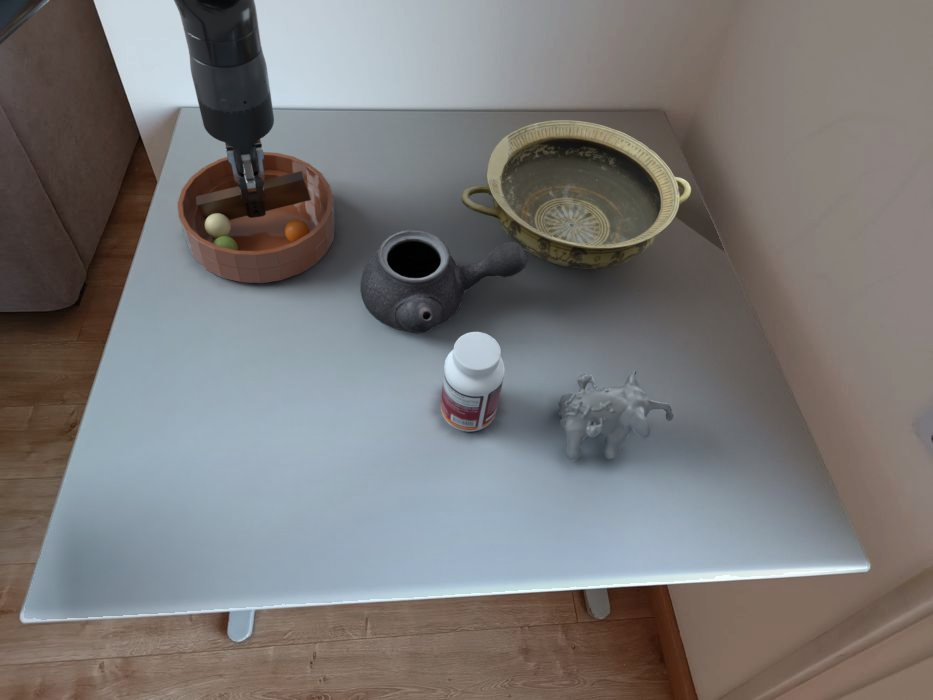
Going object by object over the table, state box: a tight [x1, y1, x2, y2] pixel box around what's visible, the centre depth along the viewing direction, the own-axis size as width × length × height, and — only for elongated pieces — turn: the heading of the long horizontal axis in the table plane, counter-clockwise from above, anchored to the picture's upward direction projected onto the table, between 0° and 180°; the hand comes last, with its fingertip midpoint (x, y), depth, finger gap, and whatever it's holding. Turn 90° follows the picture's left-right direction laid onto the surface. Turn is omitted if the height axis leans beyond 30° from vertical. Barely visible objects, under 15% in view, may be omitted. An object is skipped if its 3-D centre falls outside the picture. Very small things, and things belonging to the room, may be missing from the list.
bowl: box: [177, 151, 336, 284], centre depth 89 cm, size 18×18×6 cm
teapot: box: [360, 229, 528, 334], centre depth 83 cm, size 19×15×10 cm
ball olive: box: [213, 236, 238, 250], centre depth 86 cm, size 3×3×3 cm
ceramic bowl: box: [461, 119, 692, 270], centre depth 92 cm, size 30×24×10 cm
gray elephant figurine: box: [557, 369, 674, 461], centre depth 75 cm, size 9×12×8 cm
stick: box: [196, 171, 311, 221], centre depth 87 cm, size 13×2×4 cm, turn 105°
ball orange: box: [285, 219, 310, 243], centre depth 89 cm, size 3×3×3 cm
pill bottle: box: [440, 331, 506, 433], centre depth 74 cm, size 6×6×11 cm
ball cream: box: [205, 213, 231, 238], centre depth 86 cm, size 3×3×3 cm
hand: (255, 208), depth 89 cm, fingers closed on stick, 1 cm apart
